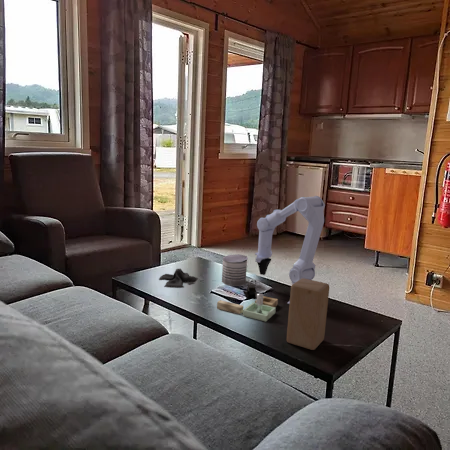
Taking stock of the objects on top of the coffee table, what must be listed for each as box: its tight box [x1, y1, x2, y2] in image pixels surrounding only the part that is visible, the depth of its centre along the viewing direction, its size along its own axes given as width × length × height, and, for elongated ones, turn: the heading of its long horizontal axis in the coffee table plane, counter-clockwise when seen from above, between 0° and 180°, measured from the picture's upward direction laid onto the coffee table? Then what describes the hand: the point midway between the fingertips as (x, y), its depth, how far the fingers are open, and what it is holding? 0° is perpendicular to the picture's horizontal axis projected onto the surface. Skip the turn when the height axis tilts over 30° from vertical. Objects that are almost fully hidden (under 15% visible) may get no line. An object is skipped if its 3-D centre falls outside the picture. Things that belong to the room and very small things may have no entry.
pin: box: [255, 292, 264, 314], centre depth 158 cm, size 2×2×8 cm
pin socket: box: [254, 295, 279, 308], centre depth 167 cm, size 7×7×2 cm
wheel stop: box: [216, 299, 244, 315], centre depth 160 cm, size 10×2×3 cm, turn 63°
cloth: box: [158, 268, 199, 289], centre depth 192 cm, size 22×19×6 cm
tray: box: [242, 301, 277, 322], centre depth 158 cm, size 9×9×2 cm
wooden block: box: [286, 278, 330, 351], centre depth 136 cm, size 10×10×20 cm
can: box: [221, 253, 248, 287], centre depth 192 cm, size 11×11×12 cm
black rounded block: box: [242, 284, 258, 300], centre depth 178 cm, size 12×7×5 cm, turn 7°
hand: (262, 274), depth 186 cm, fingers closed
